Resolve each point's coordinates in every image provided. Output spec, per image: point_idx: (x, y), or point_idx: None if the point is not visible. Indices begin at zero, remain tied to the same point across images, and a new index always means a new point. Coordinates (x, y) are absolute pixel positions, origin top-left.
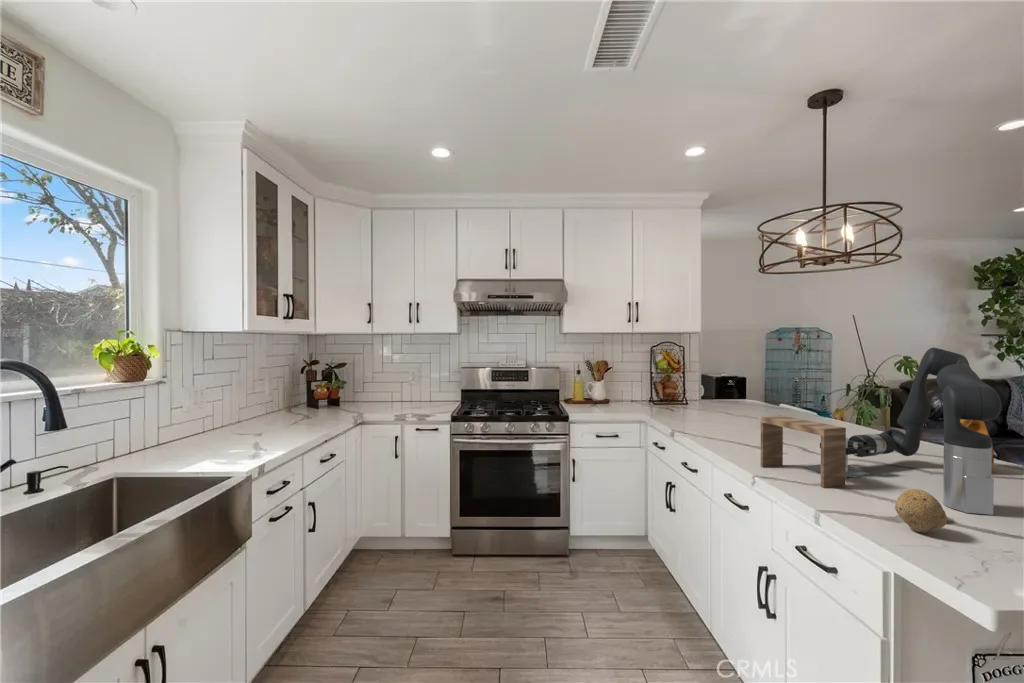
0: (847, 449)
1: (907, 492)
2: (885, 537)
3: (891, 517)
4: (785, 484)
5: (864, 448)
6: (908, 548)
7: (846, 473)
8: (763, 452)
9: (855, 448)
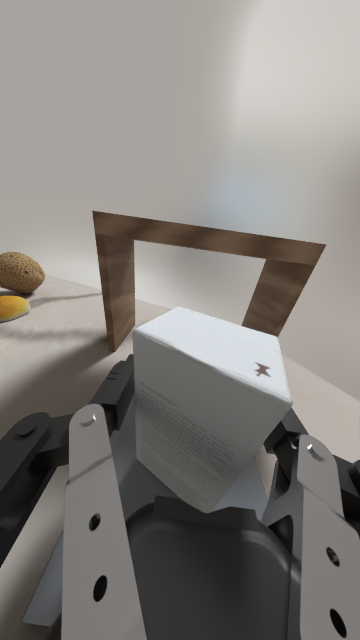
0: (126, 364)
1: (27, 256)
2: (61, 284)
3: (47, 301)
4: (164, 312)
5: (2, 451)
6: (48, 281)
7: (132, 429)
8: (245, 317)
9: (89, 409)
